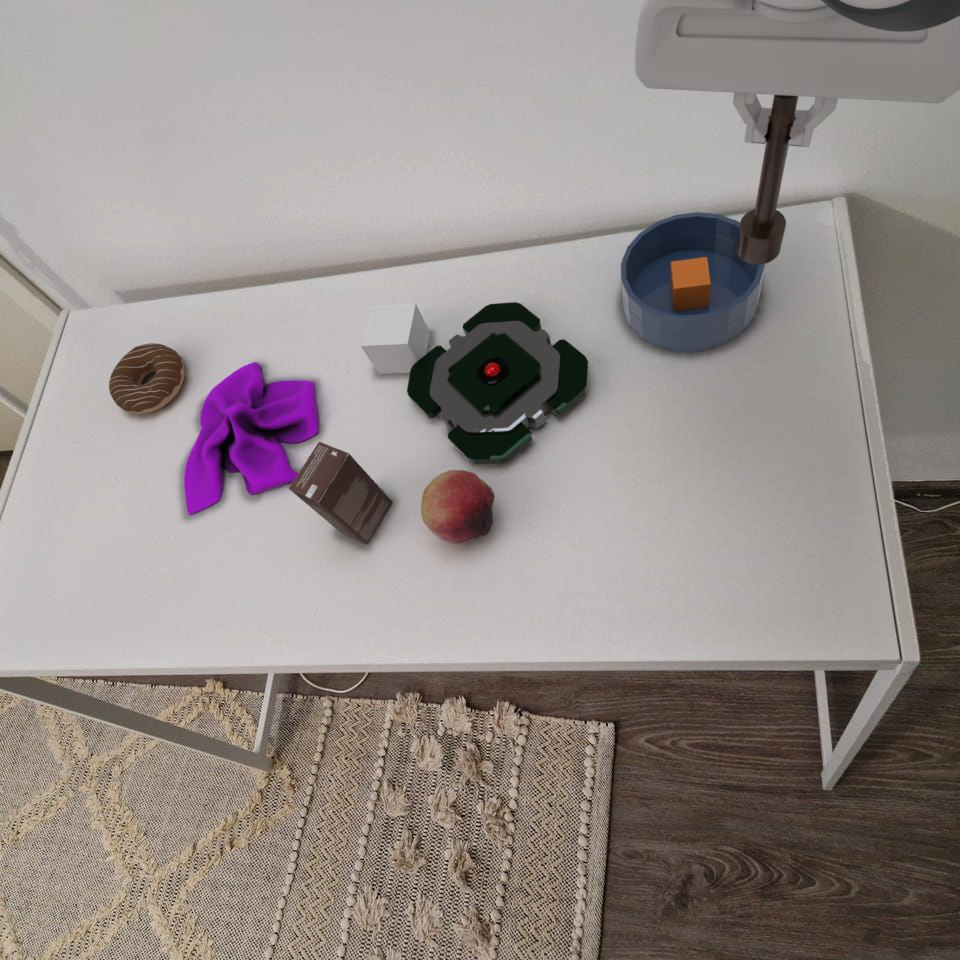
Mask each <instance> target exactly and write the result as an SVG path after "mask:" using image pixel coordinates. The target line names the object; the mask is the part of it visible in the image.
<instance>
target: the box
mask: <svg viewBox="0 0 960 960" xmlns="http://www.w3.org/2000/svg"><path fill="white" fill-rule="evenodd" d="M288 489H289V490H290V491H291V493H292V494H294V495H295V496H297V497H298V498H299V499H300V500H301V501H302V502H303V503H305V504H306V505H307V506H308V507H310V508H311V509H313V511H315V512H316V513H317V514H318V516H319V517H320V516H321V518H323V519H324V520H325V521H326V522H327V523H329V524H330V525H331V526H332V527H333V528H335V529H336V530H337V531H338V532H339V533H341V534H343V535H345V536H346V537H347V536H348V537H350V538H352V539H354V540H356V541H357V542H360V543H361V544H364V545H368V544H369V542H370V540H371V538H372V537H373V535H374V533H375V532H376V530H377V528H379V525H380V523H382V520H383V518H384V517H385V515H386V513H387V511H388V510H389V509H390V506H391V505H392V504H393V500H392V499H391V498H390V497H389V496H388V495H387V494H386V493H385V492H384V490H382V488H381V487H380V486H379V485H378V484H377V483H376V482H375V480H374V479H373V478H372V477H371V476H370V475H369V474H368V473H367V472H366V471H365V469H364V468H363V467H362V466H361V465H360V464H359V462H357V460H356V459H354V457H353V456H352V455H351V454H350V452H347V451H344V450H342V449H339V448H336V447H334V446H331V445H329V444H326V443H324V442H322V441H318V442H317V444H316V445H315V447H314V448H313V450H312V452H310V455H309V456H308V458H307V459H306V461H305V462H304V464H303V466H302V467H301V469H300V470H299V472H298V475H297V477H296V478H295V480H294V481H292V482H291V484H290V485H289V487H288Z"/></svg>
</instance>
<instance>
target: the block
mask: <svg viewBox="0 0 960 960" xmlns="http://www.w3.org/2000/svg"><path fill="white" fill-rule="evenodd" d="M710 288H711V281H710V274H709V267H708V259H707V257H702V258H695V259H687V260H680V261H672V262H671V294H672V303H673V311H681V310H689V309H698V308H706V307H709V301H710Z"/></svg>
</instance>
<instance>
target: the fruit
mask: <svg viewBox="0 0 960 960" xmlns="http://www.w3.org/2000/svg"><path fill="white" fill-rule="evenodd" d="M494 500H495V493H494V491H493V489H492V487H491V486H489V485H488V483H487V482H485V481H484V480H483V479H482V478H481V477H479V476H478V474H476V473H474V472H471V471H468V470H463V469H449V470H447V471H445V472H441V473H440V474H438V475H437V476H434V478H433V479H432V480H431V481H430V482H429V483H428V484H427V486H425V488H424V490H423V492H422V497H421V502H420V503H421V504H420V513H421V518H422V520H423V523H424V524H425V526H426V527H427V529H428V530H429V531H430V532H432V534H433V535H435V536H437V537H438V538H440V539H441V541H442V540H443V541H445V542H448V543H453V544H456V545H457V544H458V545H461V546H462V545H467V544H468V543H469V542H470V541H472V540H475V539H479V538H481V537H487V535H488V534H489V532H490V530H491V529H492V526H493V524H494V523H493V522H494V521H493V520H494V516H493V510H492V509H493V503H494Z"/></svg>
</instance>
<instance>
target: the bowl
mask: <svg viewBox="0 0 960 960" xmlns="http://www.w3.org/2000/svg"><path fill="white" fill-rule="evenodd" d="M739 227H740V221H738V220H736V219H733V218H731V217H729V216H725V215H722V214H719V213H710V212H702V211H695V212H687V213H680V214H674V215H671V216H669V217H666V218H663V219H661V220H658V221H656V222H654V223H653V224H651V225H649V226H648V227H646V228H645V229H643V230H642V231H640V232H639V233H638V234H637V235H636V236H635V238H634V239H633V240H632V241H631V242H630V244H629V245H628V246H627V247H626V249H625V251H624V255H623V256H622V259H621V261H620V281H621V295H622V307H623V312H624V315H625V318H626V320H627V321H626V322H627V323H628V325H629V327H630V328H631V329H632V331H633V332H634V333H635V334H636V335H637V336H638V337H639V338H641V340H643V341H645V342H647V343H648V344H650V345H652V346H654V347H656V348H659V349H662V350H666V351H669V352H675V353H676V352H677V353H678V352H679V353H695V352H696V353H697V352H698V353H699V352H702V351H703V352H704V351H708V350H711V349H715V348H717V347H720V346H722V345H725V344H726V343H729V342H730V341H731V340H733V339H734V338H736V337H737V336H739V335H740V334H741V333H742V332H743V331H744V330H745V329H746V328H747V327H748V326H749V324H750V323H751V321H752V319H753V318H754V317H755V314H756V311H757V309H758V303H759V301H760V298H761V297H760V296H761V291H762V285H763V279H764V274H765V269H766V264H761V265H754V264H749V263H747V262H745V261H743V260H742V259H741V258H740V257H739V256H738V254H737V250H736V249H737V241H738V234H739ZM702 257H707V259H708V267H709V274H710V281H711V288H710V301H709V307H706V308H698V309H689V310H681V311H673V303H672V294H671V262H672V261H680V260H687V259H695V258H702Z"/></svg>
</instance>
